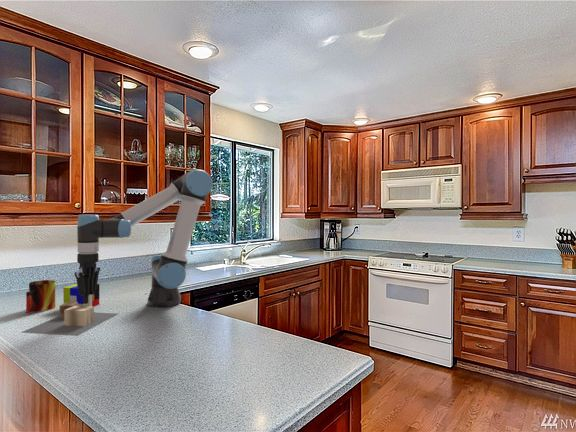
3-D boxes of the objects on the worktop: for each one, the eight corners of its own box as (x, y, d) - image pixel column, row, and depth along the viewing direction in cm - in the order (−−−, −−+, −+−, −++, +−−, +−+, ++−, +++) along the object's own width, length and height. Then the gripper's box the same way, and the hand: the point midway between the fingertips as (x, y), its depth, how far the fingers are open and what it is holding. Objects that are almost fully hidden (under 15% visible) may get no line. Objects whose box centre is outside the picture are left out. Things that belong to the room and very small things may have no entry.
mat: (119, 314, 154) (119, 313, 154) (77, 336, 129) (77, 335, 129) (71, 311, 157) (71, 311, 157) (20, 333, 131) (20, 332, 131)
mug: (26, 316, 150) (25, 287, 150) (30, 307, 162) (30, 281, 162) (53, 313, 155) (53, 285, 154) (56, 305, 167) (56, 279, 166)
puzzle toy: (83, 311, 158) (83, 288, 157) (63, 309, 160) (63, 287, 159) (99, 305, 168) (99, 284, 167) (80, 303, 170) (80, 282, 169)
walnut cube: (77, 313, 153) (77, 302, 153) (72, 317, 148) (72, 305, 148) (65, 314, 152) (65, 302, 152) (59, 317, 147) (59, 305, 147)
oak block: (93, 306, 144) (83, 310, 138) (93, 321, 144) (83, 326, 138) (75, 305, 145) (64, 309, 139) (75, 320, 145) (64, 325, 139)
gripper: (89, 250, 152) (89, 305, 153) (67, 254, 140) (67, 315, 140) (106, 251, 152) (106, 306, 152) (86, 255, 139) (85, 316, 139)
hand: (87, 310), depth 146 cm, fingers closed
